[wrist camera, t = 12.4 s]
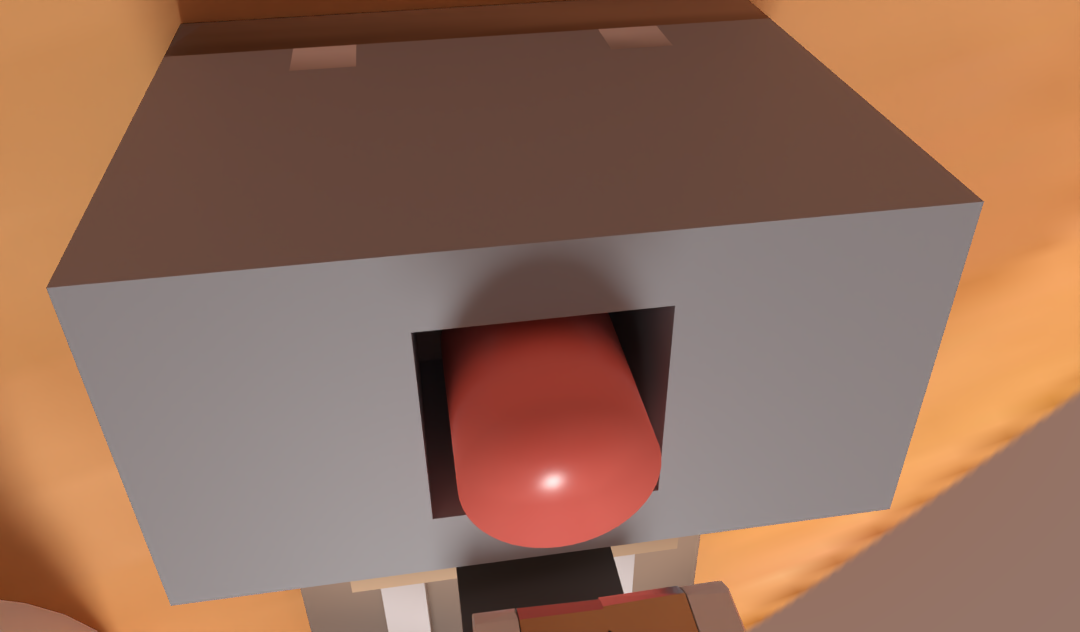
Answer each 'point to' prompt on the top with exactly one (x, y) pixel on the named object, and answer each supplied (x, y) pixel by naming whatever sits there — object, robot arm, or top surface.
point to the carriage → (528, 579)
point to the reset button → (547, 429)
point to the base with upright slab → (36, 619)
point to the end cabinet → (499, 287)
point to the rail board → (330, 40)
